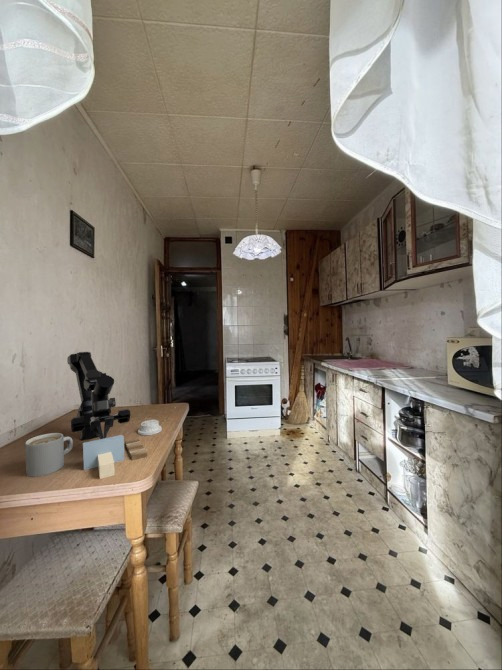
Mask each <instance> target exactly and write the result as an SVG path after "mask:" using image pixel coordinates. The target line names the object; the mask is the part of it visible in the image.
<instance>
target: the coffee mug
mask: <svg viewBox="0 0 502 670" xmlns="http://www.w3.org/2000/svg"><path fill="white" fill-rule="evenodd" d="M65 442H67V446H66V448H65V449H64V447H65V445H64V443H65ZM24 444H25V445H24V449H25V475H26V476H27V477H30V478H38V477H44V476H47V475H50V474H53V473H56V472H58V471H59V470H61V469H62V468H64V466H65V456H66V455H67V454H68V453H70V452H71V451H72V449H73V446H74V440H73V439H72V437H71V436H64V434H63V433H60V432H51V433H45V434H40V435H36V436H35V437H32V438H29V439H28V440H26V441H25V443H24Z"/></svg>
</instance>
